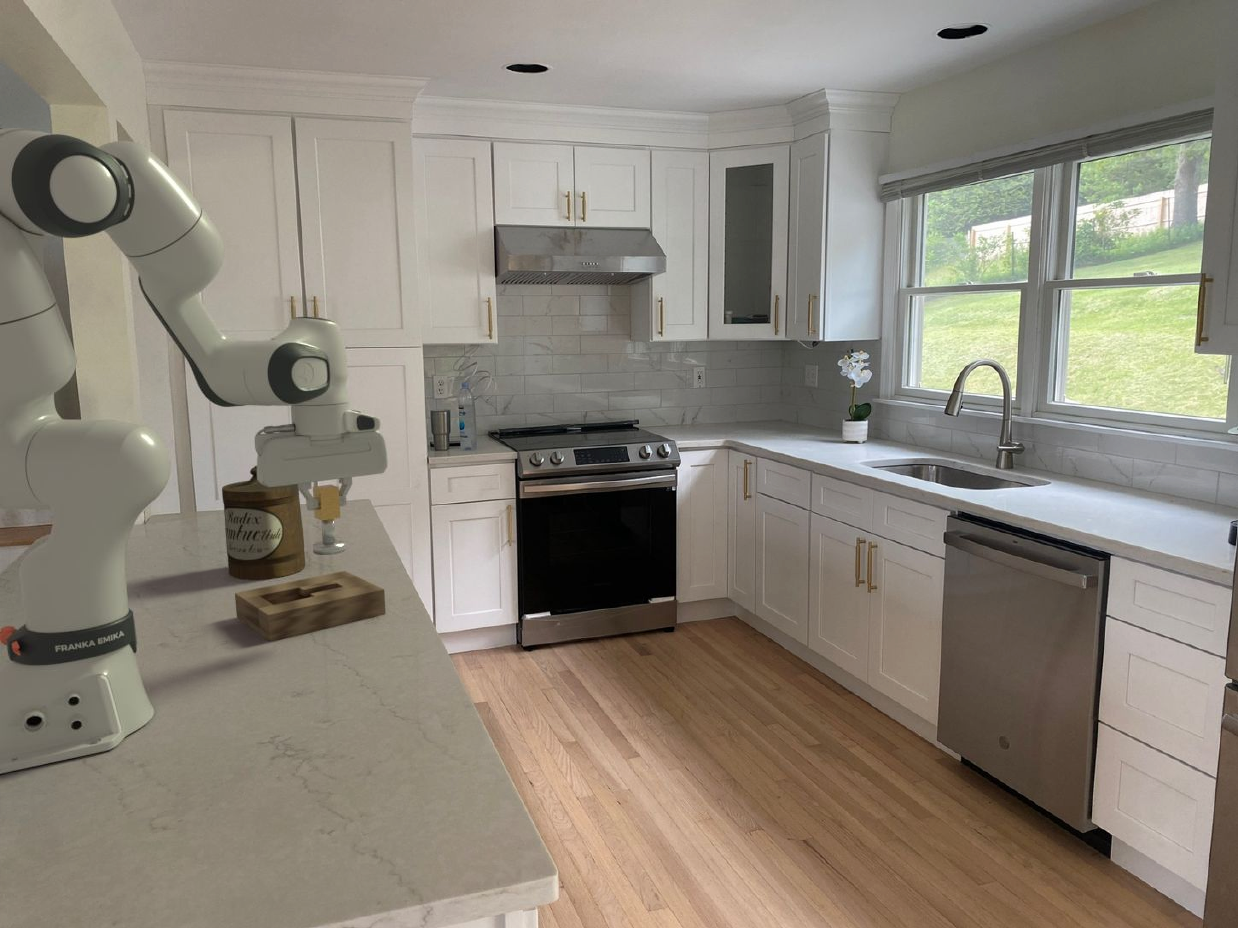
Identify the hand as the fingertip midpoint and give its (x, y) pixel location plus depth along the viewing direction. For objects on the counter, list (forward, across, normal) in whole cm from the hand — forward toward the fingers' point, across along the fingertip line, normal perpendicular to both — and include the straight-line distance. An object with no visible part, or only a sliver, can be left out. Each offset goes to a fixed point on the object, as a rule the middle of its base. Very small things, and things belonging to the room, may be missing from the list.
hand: (326, 507), depth 141 cm
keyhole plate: (+21, +1, +12) cm, 24 cm away
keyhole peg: (+7, 0, 0) cm, 7 cm away
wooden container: (+21, +5, +47) cm, 52 cm away
